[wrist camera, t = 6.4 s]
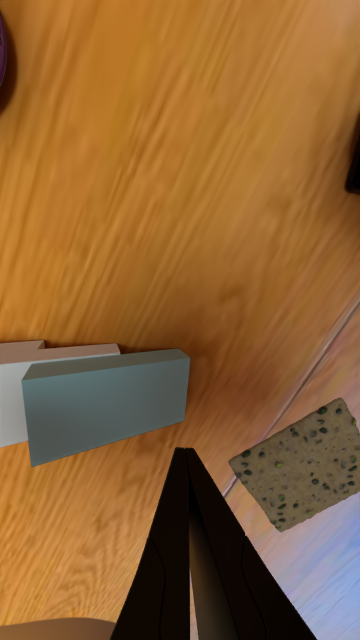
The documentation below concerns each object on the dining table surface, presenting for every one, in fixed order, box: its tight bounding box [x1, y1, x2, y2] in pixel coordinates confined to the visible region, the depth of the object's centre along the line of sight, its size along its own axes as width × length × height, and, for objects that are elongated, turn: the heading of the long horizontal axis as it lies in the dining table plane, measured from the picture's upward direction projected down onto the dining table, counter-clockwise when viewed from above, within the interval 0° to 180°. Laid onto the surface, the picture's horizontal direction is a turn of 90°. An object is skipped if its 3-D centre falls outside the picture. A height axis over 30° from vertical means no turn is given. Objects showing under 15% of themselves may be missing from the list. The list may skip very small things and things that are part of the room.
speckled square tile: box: [229, 398, 360, 532], centre depth 18 cm, size 12×12×1 cm
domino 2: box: [21, 348, 191, 467], centre depth 12 cm, size 2×5×9 cm
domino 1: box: [0, 343, 120, 447], centre depth 11 cm, size 2×5×9 cm
